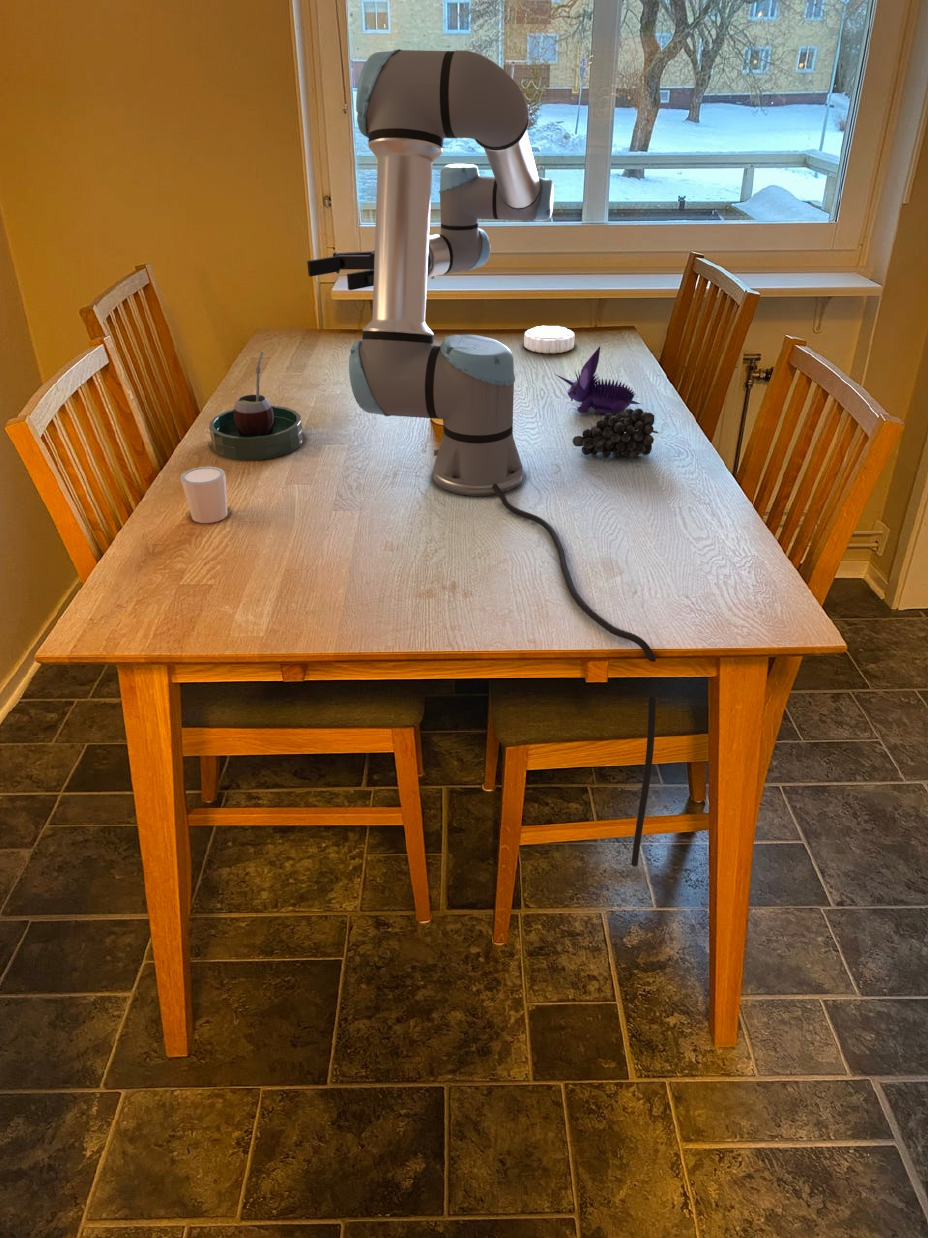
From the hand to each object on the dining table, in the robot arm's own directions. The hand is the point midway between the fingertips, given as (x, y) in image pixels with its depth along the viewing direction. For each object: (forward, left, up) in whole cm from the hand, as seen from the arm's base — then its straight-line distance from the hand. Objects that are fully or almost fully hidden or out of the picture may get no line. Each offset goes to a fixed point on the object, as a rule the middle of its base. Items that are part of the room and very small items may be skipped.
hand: (328, 275), depth 171 cm
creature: (-7, -51, -27) cm, 58 cm away
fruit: (-29, -47, -27) cm, 62 cm away
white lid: (+36, -53, -27) cm, 69 cm away
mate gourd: (-10, +16, -27) cm, 33 cm away
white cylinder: (-39, +24, -27) cm, 54 cm away
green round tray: (-10, +16, -27) cm, 33 cm away
